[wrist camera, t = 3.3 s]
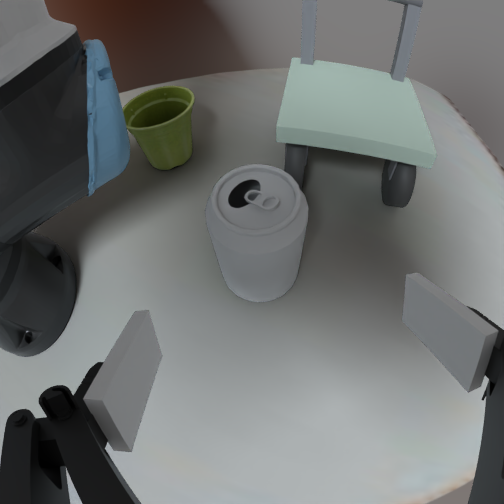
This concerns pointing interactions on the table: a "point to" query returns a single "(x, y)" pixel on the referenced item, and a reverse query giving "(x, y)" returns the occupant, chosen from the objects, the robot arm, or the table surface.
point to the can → (257, 230)
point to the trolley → (357, 110)
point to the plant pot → (162, 124)
